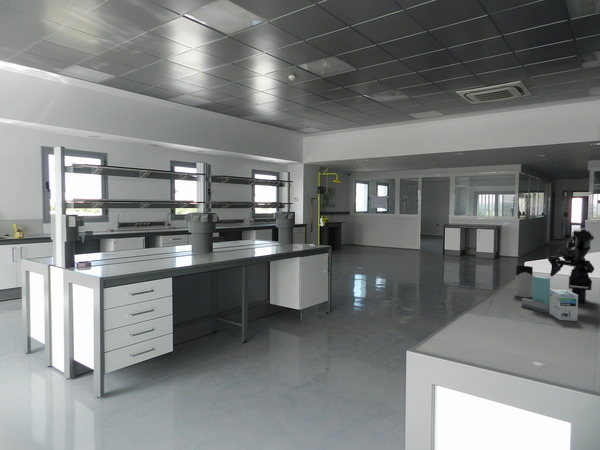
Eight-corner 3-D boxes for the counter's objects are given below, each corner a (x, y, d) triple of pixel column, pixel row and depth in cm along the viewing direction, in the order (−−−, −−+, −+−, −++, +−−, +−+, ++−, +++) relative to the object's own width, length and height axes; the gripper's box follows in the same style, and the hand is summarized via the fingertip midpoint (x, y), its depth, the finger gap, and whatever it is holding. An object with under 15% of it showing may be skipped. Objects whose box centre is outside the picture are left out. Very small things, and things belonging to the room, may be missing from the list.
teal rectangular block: (532, 304, 179) (532, 276, 179) (537, 304, 180) (537, 276, 180) (544, 307, 173) (544, 278, 173) (549, 307, 174) (550, 278, 174)
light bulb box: (578, 321, 157) (579, 294, 156) (559, 320, 158) (560, 293, 158) (565, 314, 167) (566, 289, 167) (548, 313, 168) (549, 288, 168)
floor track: (521, 306, 181) (521, 298, 181) (536, 305, 184) (536, 297, 184) (545, 312, 170) (545, 304, 170) (560, 311, 172) (560, 302, 172)
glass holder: (515, 296, 203) (516, 267, 203) (511, 291, 216) (512, 264, 216) (534, 297, 200) (535, 268, 199) (530, 292, 213) (530, 264, 212)
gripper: (551, 239, 190) (533, 262, 187) (590, 242, 172) (571, 268, 169) (562, 255, 193) (545, 278, 190) (602, 259, 175) (583, 285, 172)
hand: (560, 277), depth 180 cm, fingers open, 9 cm apart
